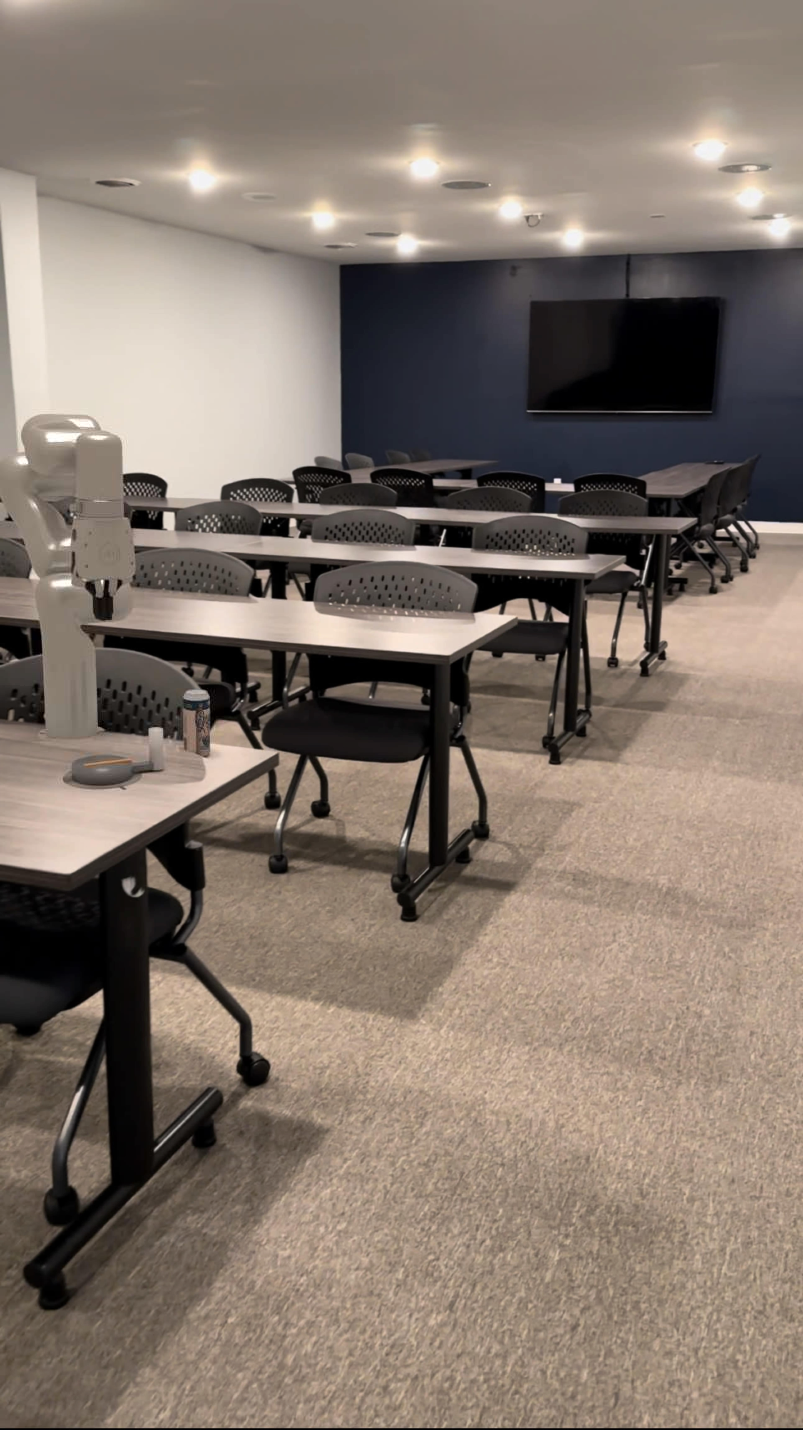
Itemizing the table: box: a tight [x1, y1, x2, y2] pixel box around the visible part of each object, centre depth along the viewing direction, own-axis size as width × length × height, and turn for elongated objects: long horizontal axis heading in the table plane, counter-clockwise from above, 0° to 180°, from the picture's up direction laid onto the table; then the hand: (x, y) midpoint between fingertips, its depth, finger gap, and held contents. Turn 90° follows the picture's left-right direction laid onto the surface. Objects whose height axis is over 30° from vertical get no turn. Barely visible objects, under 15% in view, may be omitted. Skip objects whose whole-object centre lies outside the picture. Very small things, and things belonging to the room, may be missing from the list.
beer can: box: [182, 689, 211, 758], centre depth 223 cm, size 5×5×12 cm
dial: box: [70, 726, 165, 784], centre depth 206 cm, size 16×10×7 cm, turn 121°
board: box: [62, 770, 150, 791], centre depth 207 cm, size 20×17×1 cm
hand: (103, 619), depth 206 cm, fingers closed
